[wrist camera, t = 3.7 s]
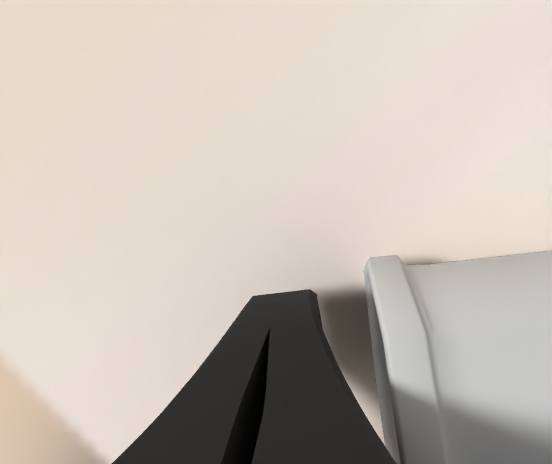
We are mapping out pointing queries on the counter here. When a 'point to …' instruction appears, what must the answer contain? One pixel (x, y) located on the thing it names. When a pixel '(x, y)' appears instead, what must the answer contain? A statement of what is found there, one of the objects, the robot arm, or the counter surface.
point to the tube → (463, 358)
